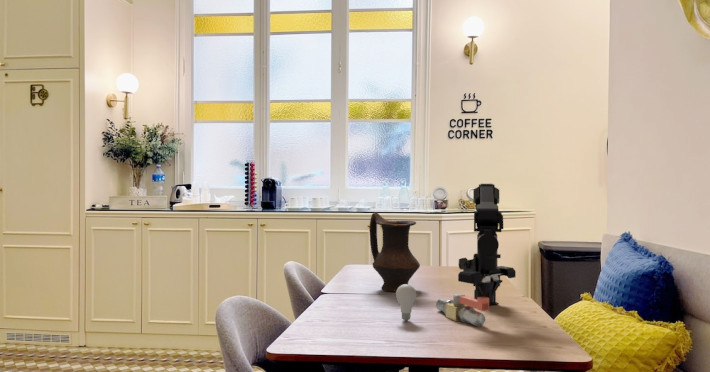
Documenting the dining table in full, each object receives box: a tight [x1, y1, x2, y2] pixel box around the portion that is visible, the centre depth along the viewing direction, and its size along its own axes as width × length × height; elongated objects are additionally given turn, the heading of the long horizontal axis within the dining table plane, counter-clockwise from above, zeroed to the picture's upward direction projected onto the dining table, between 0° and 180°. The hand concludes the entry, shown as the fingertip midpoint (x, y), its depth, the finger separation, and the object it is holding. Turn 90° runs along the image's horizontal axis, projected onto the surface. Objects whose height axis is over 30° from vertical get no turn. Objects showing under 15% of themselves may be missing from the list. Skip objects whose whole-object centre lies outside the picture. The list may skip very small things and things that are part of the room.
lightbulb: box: [395, 283, 417, 322], centre depth 166 cm, size 6×6×11 cm
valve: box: [435, 297, 486, 327], centre depth 170 cm, size 6×22×5 cm, turn 20°
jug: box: [369, 212, 421, 293], centre depth 219 cm, size 21×18×30 cm
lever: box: [452, 293, 490, 312], centre depth 165 cm, size 15×4×4 cm, turn 23°
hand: (487, 304), depth 162 cm, fingers closed
